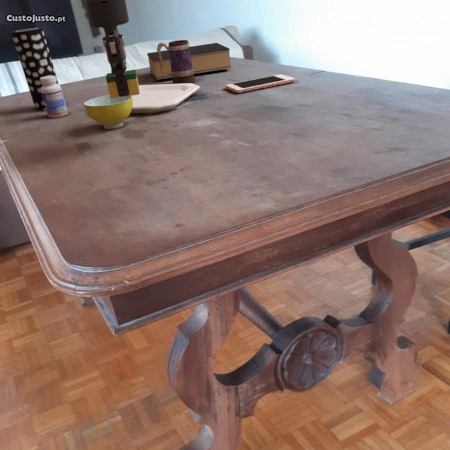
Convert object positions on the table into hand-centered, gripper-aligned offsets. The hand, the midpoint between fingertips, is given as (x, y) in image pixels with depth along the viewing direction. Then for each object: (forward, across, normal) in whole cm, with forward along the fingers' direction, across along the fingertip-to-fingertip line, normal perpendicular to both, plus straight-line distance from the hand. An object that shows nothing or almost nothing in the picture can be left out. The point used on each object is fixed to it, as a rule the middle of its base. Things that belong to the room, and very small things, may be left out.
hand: (124, 92), depth 98 cm
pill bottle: (+10, -34, -21) cm, 41 cm away
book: (+10, -70, +19) cm, 73 cm away
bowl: (+10, -14, -5) cm, 18 cm away
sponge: (0, 0, 0) cm, 0 cm away
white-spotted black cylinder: (+10, -46, -25) cm, 53 cm away
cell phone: (+10, -35, +36) cm, 51 cm away
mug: (+10, -53, +14) cm, 56 cm away
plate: (+10, -33, +4) cm, 35 cm away
